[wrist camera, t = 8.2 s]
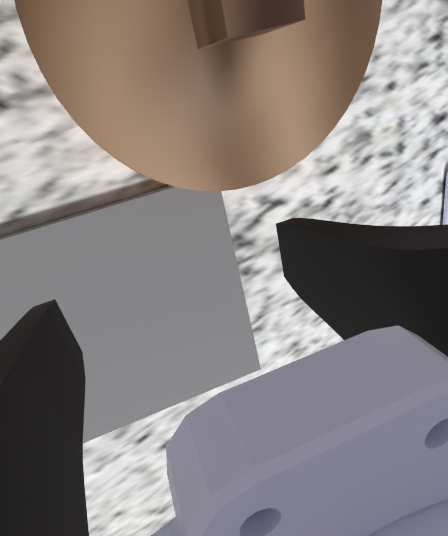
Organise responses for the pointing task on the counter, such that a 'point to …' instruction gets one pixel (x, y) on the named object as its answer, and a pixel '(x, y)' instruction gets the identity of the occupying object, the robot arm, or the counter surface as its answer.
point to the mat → (138, 299)
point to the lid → (204, 79)
